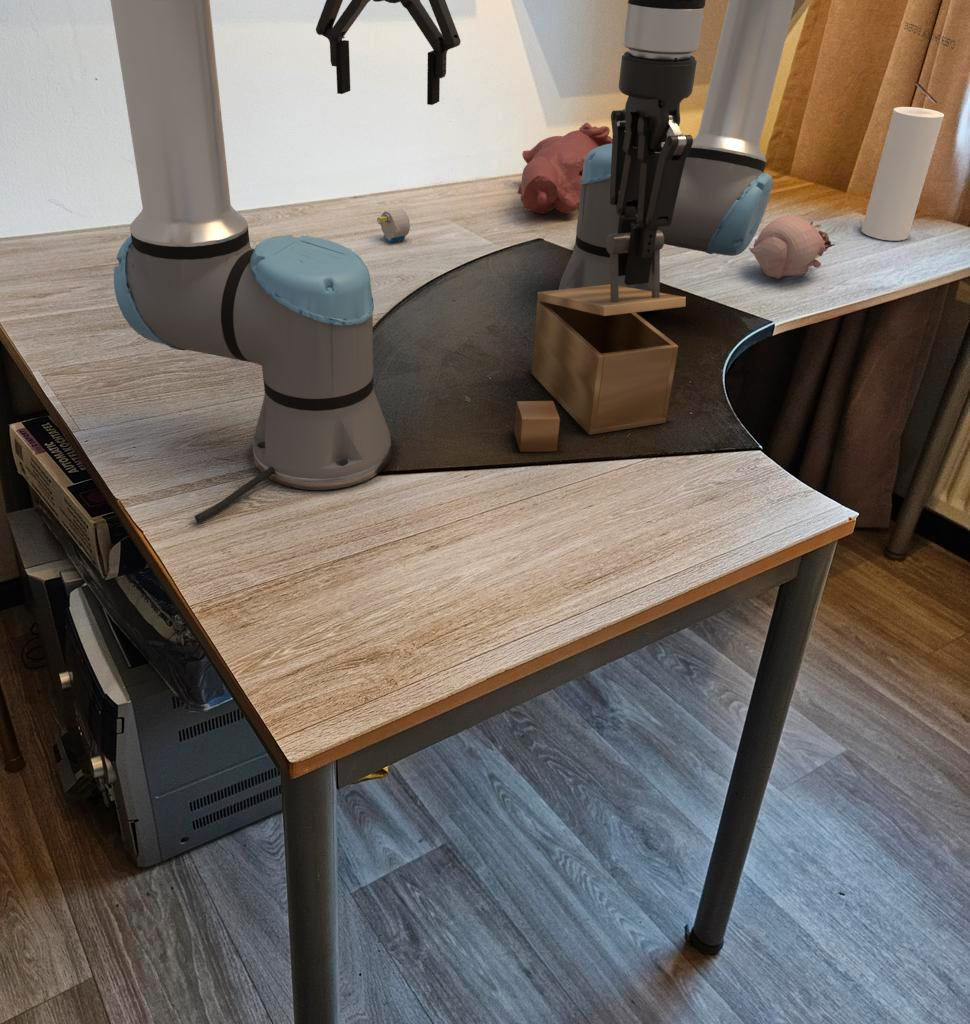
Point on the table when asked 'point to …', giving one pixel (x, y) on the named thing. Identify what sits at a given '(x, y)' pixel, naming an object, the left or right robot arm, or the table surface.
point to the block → (537, 426)
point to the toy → (790, 246)
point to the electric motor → (394, 225)
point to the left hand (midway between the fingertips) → (388, 97)
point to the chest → (604, 367)
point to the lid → (617, 287)
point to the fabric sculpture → (558, 169)
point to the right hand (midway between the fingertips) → (630, 278)
